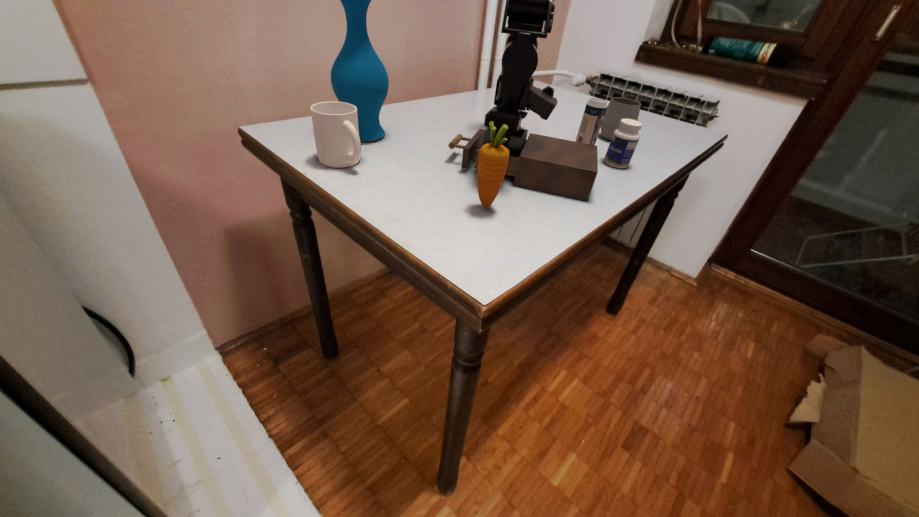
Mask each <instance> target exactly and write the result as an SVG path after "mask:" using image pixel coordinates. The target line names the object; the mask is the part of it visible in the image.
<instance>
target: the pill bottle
mask: <svg viewBox="0 0 919 517" xmlns="http://www.w3.org/2000/svg"><path fill="white" fill-rule="evenodd" d="M642 127H643V123H642V122H641V121H639V120H638V121H636V120H633V119H621V121H620V123H619V128H618V129H616V130H615V131H614V133H613V136H612V139H611V141H610V142H609V144H608V147H607V150H606V153H605V156H604V159H603V161H604V163H605V164H606V165H608V166H610V167H613V168H616V169H625V168H628V167H629V165H630V163H631V161H632V158H633V155H634V153H635V150H636V148H637V146H638V143H639V140H640V138H641V136H640V133H639V132H640V131H641V130H642Z"/></svg>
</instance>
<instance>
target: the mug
mask: <svg viewBox="0 0 919 517" xmlns="http://www.w3.org/2000/svg"><path fill="white" fill-rule="evenodd" d="M310 116H311V122H312V129H313V135H314V142H315V148H316V155H317V159H318V161H319V163H321V164H322V165H323V166H326V167H329V168H333V169H345V168H350V167H353V166H355V165H357V164H359V162H360V160H361V155H362V143H361V142H360V138H359V128H358V114H357V107H356V106H354V105H352V104H349V103H345V102H339V101H336V100H335V101H333V100H331V101H330V100H329V101H328V100H327V101H319V102H316V103H313V104H311V106H310Z"/></svg>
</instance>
